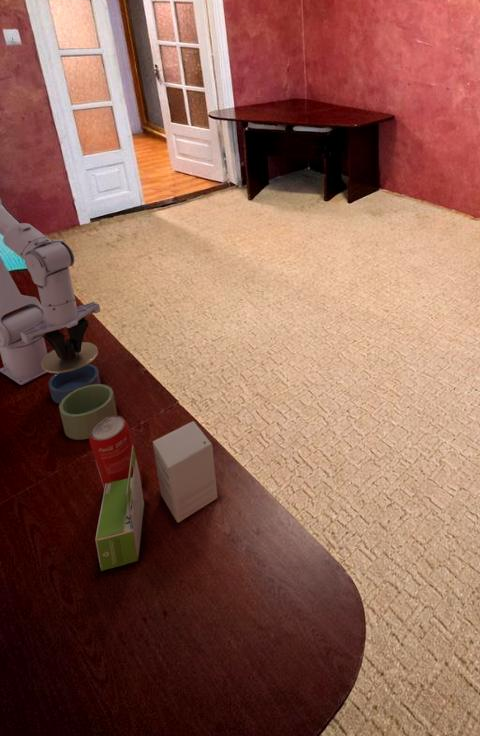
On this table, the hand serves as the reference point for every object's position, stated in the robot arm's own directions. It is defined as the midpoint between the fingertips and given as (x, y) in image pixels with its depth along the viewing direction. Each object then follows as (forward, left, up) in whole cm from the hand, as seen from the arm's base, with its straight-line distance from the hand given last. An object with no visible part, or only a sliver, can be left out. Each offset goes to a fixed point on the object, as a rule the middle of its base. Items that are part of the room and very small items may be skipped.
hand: (69, 354), depth 104 cm
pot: (+11, -4, -10) cm, 16 cm away
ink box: (+39, -15, -10) cm, 43 cm away
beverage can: (+31, -10, -10) cm, 34 cm away
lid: (0, 0, -1) cm, 1 cm away
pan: (-1, 0, -10) cm, 10 cm away
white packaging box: (+42, -5, -10) cm, 44 cm away
